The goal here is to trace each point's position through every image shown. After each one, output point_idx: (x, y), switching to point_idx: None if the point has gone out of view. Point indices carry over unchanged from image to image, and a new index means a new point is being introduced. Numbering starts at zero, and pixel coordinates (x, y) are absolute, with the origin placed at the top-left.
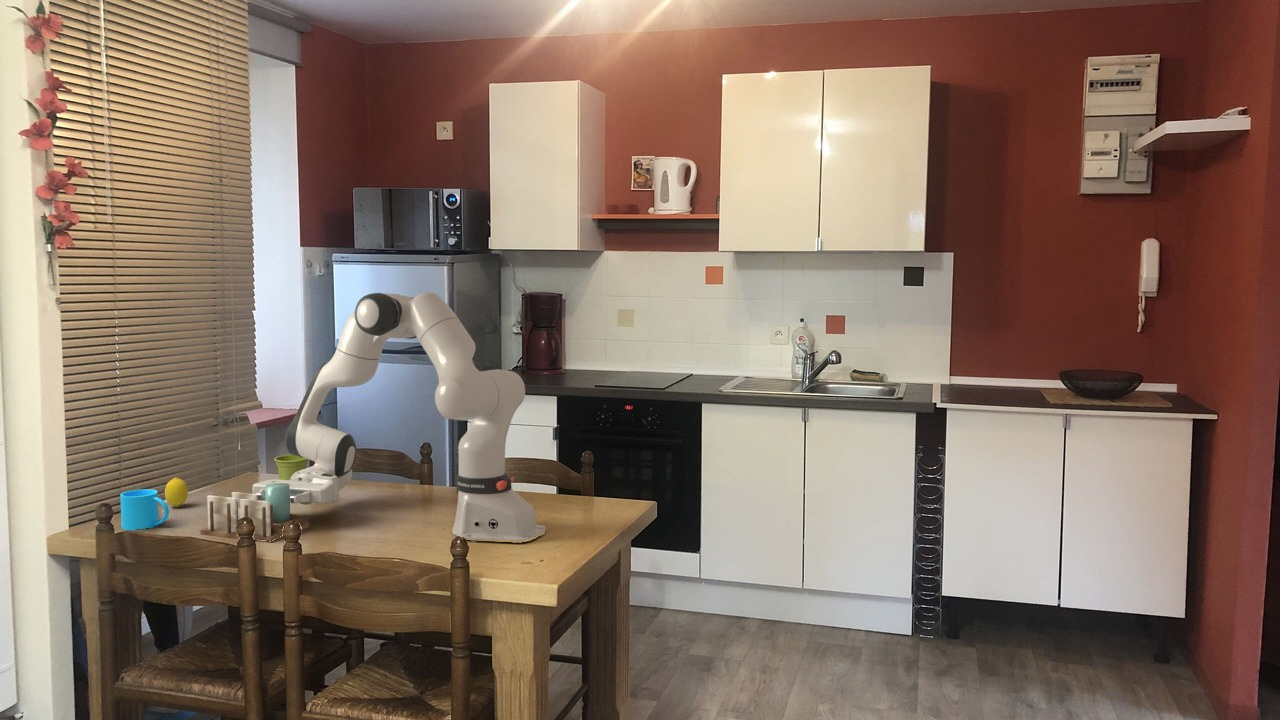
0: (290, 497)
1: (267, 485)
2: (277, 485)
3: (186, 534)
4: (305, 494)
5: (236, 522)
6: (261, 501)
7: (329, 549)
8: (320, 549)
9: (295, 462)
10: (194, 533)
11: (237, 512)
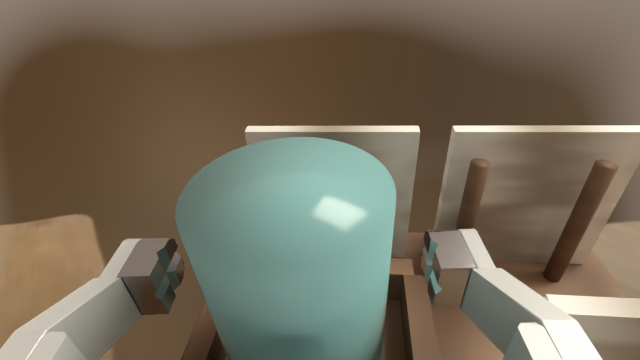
0: (174, 240)
1: (375, 175)
2: (289, 192)
3: (616, 236)
4: (46, 316)
5: (435, 225)
6: (288, 127)
7: (34, 235)
8: (65, 229)
9: None
10: (609, 251)
11: (459, 210)
